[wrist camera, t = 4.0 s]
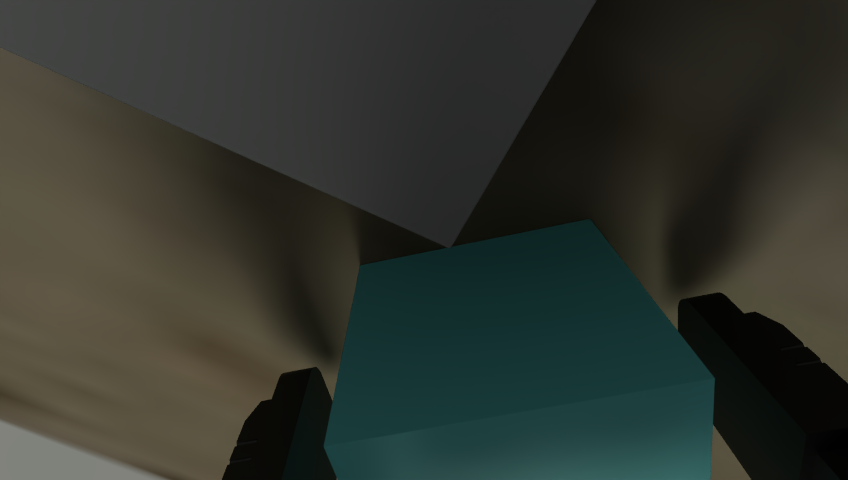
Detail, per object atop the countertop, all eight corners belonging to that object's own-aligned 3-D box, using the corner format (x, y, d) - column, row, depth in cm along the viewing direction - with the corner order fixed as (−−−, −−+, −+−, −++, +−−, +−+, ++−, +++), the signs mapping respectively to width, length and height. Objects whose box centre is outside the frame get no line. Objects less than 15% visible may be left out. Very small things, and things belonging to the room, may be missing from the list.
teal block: (360, 263, 11) (323, 446, 7) (588, 217, 11) (714, 378, 6) (411, 426, 13) (410, 649, 9) (603, 393, 13) (704, 607, 8)
